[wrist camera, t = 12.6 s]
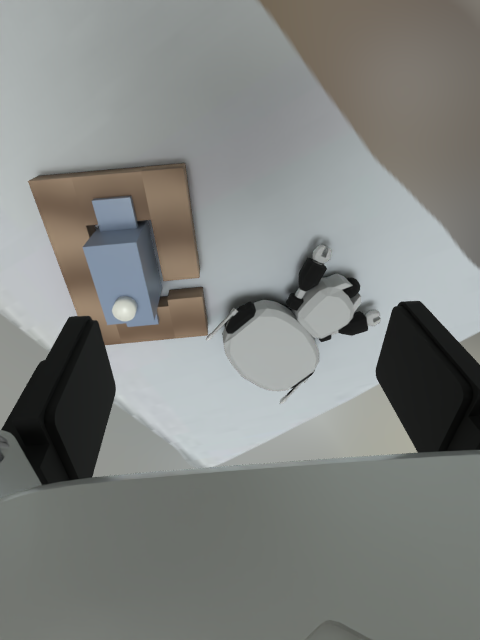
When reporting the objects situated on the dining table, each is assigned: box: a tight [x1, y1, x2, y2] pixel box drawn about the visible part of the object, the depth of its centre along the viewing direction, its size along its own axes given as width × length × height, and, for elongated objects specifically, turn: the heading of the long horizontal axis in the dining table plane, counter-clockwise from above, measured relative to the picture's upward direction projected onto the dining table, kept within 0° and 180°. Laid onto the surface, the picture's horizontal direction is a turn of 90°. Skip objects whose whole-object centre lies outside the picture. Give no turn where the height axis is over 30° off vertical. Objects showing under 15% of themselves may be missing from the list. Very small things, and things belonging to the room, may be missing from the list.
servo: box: [83, 196, 162, 327], centre depth 31 cm, size 12×4×7 cm, turn 4°
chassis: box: [28, 163, 208, 345], centre depth 33 cm, size 16×12×2 cm
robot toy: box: [206, 245, 380, 404], centre depth 37 cm, size 12×4×15 cm
